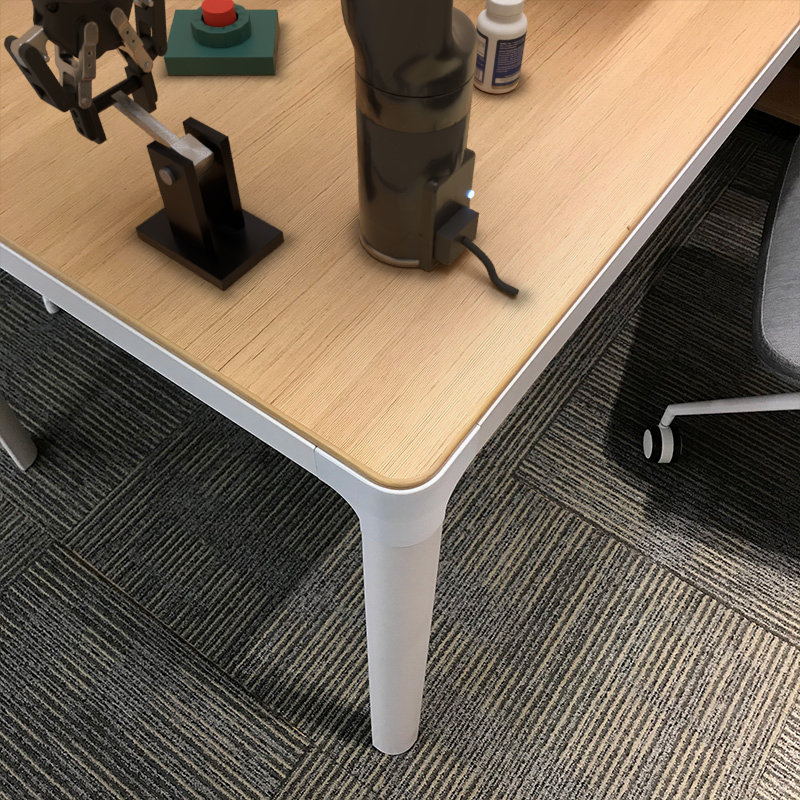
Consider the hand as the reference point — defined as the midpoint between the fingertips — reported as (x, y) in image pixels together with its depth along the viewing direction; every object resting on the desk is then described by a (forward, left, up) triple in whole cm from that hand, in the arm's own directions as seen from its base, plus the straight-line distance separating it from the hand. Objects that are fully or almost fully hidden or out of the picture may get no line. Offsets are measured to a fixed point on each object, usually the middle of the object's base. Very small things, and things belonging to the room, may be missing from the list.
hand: (121, 122), depth 67 cm
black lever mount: (-9, 0, -9) cm, 12 cm away
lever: (-5, 0, 0) cm, 4 cm away
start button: (+12, -23, -5) cm, 27 cm away
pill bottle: (-16, -38, -9) cm, 42 cm away
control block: (+12, -24, -9) cm, 28 cm away
